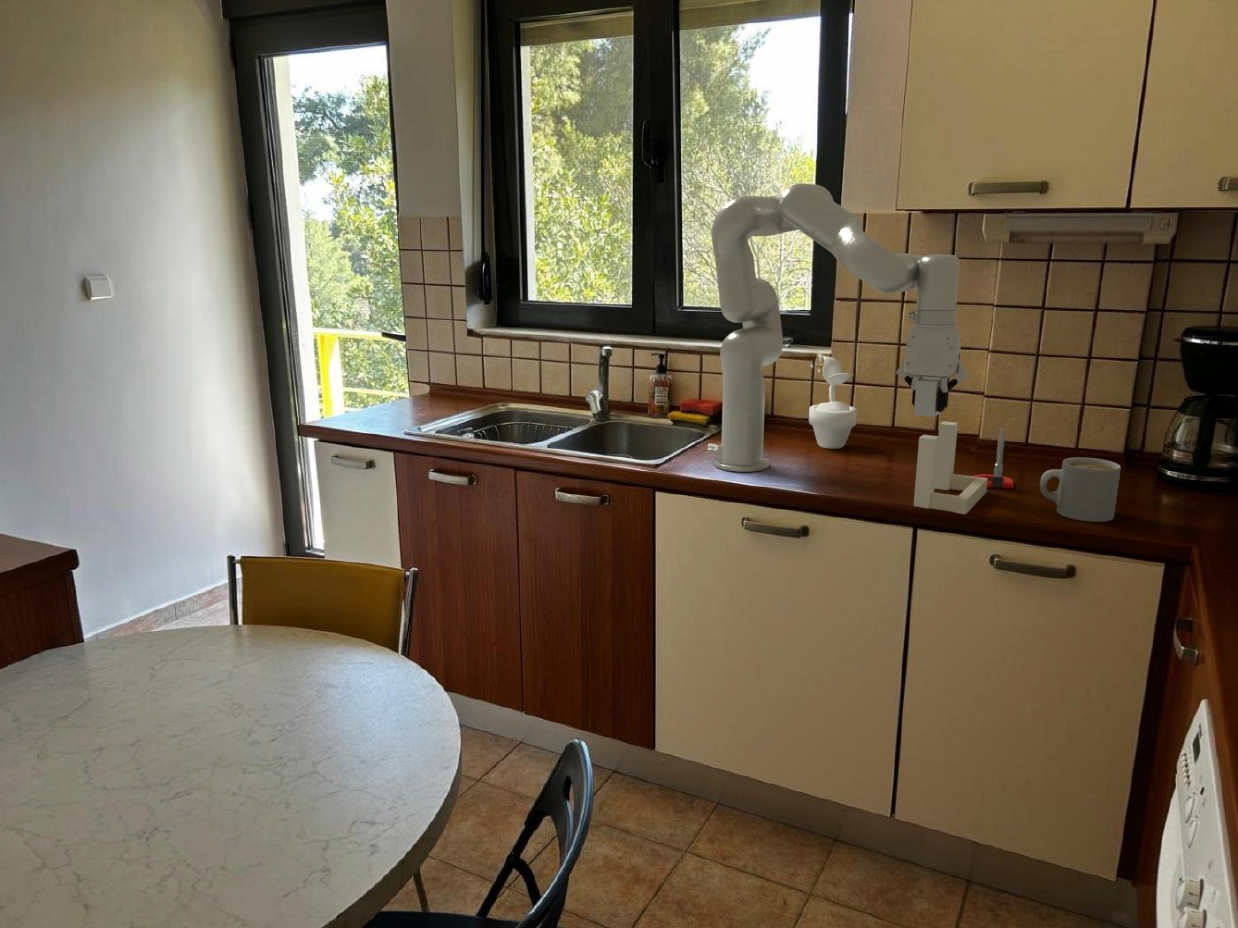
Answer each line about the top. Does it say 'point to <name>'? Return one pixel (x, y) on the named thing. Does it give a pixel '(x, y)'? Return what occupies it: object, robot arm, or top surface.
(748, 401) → the robot arm
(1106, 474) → the coffee mug
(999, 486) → the grey red t-shaped piece
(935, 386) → the grey upright block
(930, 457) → the white open frame stand
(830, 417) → the potted plant
